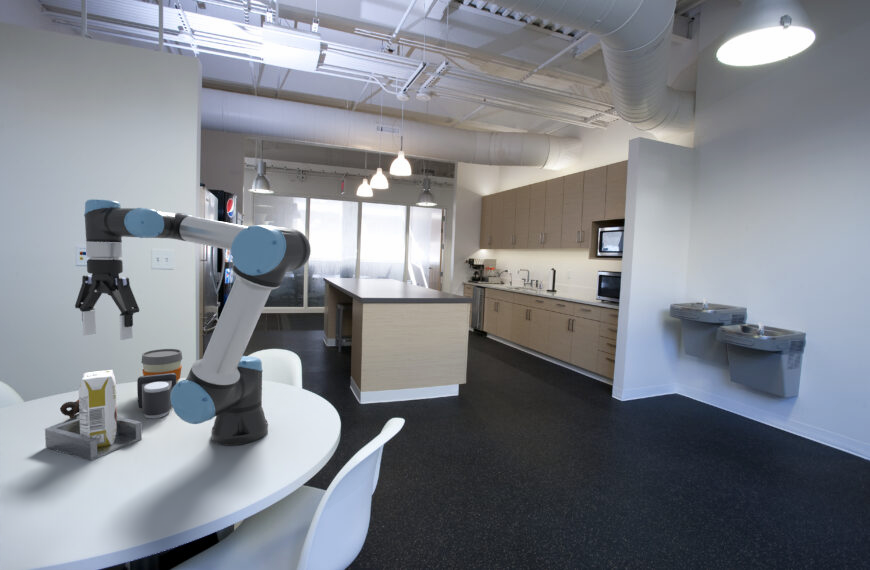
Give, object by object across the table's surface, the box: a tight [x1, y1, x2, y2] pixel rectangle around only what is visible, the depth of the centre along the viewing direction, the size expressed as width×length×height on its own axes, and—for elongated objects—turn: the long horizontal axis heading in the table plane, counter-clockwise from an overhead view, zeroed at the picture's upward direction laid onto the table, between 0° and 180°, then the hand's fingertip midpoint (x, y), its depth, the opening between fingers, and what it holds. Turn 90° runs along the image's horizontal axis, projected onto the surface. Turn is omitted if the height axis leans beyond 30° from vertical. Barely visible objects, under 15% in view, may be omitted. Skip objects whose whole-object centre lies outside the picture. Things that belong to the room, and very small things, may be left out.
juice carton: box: [78, 369, 118, 447], centre depth 113 cm, size 8×9×19 cm
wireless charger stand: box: [136, 373, 176, 419], centre depth 136 cm, size 11×13×11 cm
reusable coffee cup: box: [140, 348, 183, 384], centre depth 152 cm, size 13×13×15 cm
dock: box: [44, 415, 143, 461], centre depth 114 cm, size 18×13×5 cm
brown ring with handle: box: [59, 398, 79, 419], centre depth 130 cm, size 12×10×8 cm
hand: (107, 336), depth 113 cm, fingers open, 13 cm apart
